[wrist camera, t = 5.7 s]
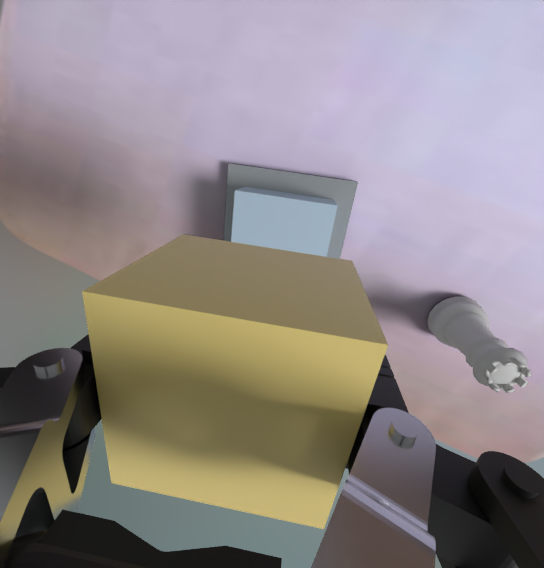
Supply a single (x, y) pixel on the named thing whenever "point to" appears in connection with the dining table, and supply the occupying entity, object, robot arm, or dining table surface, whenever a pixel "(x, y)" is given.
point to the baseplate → (297, 186)
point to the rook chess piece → (478, 343)
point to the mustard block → (234, 374)
